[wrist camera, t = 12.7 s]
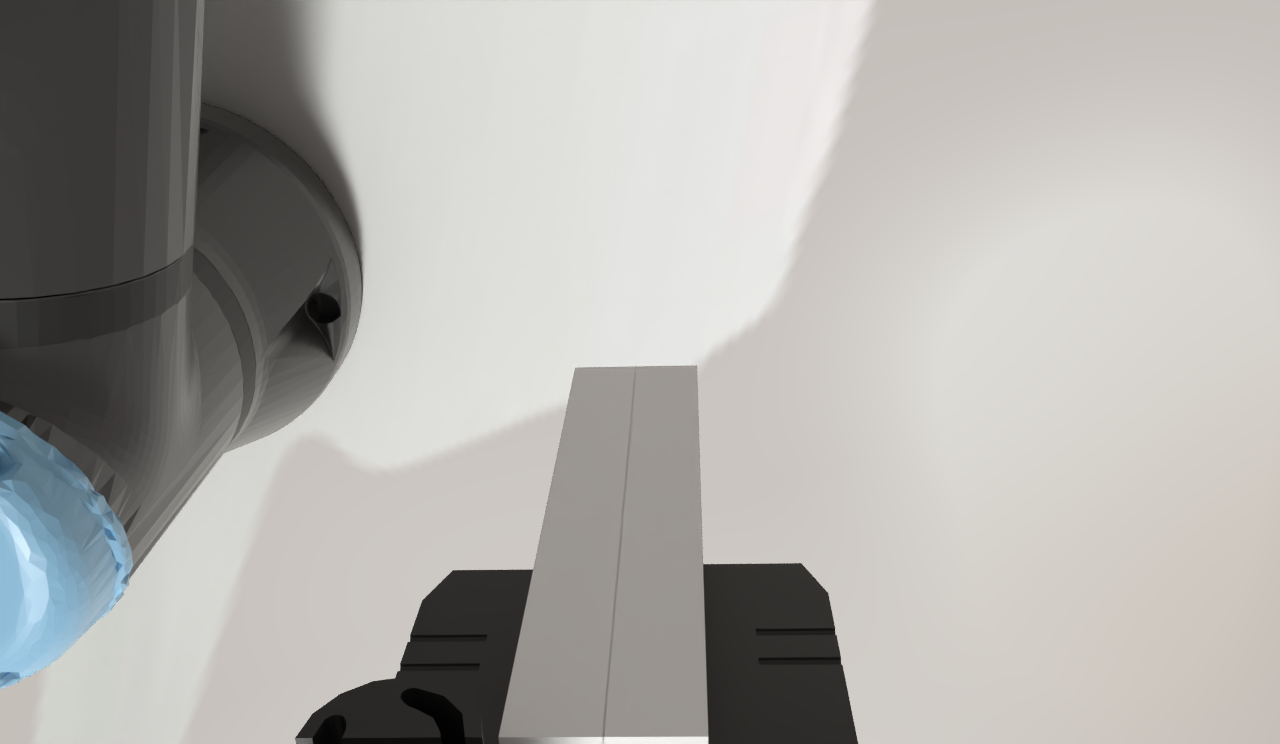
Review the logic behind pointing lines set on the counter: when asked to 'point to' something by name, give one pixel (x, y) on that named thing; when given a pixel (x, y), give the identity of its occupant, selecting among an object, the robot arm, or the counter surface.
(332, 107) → the counter surface
